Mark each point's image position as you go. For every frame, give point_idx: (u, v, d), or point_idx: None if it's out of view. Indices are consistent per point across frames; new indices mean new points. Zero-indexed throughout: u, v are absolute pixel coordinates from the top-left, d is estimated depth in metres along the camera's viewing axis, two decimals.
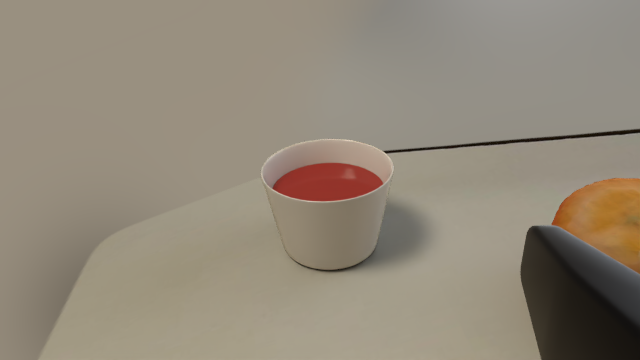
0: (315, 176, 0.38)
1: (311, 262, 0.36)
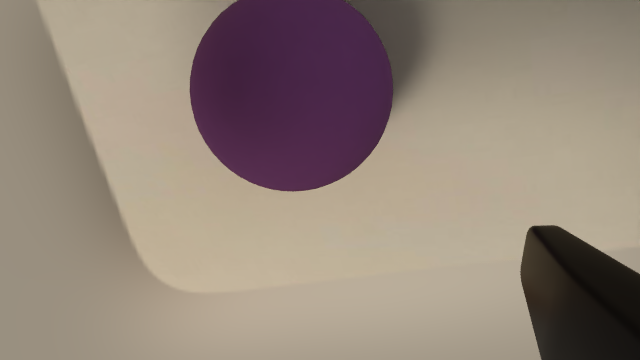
0: None
1: None
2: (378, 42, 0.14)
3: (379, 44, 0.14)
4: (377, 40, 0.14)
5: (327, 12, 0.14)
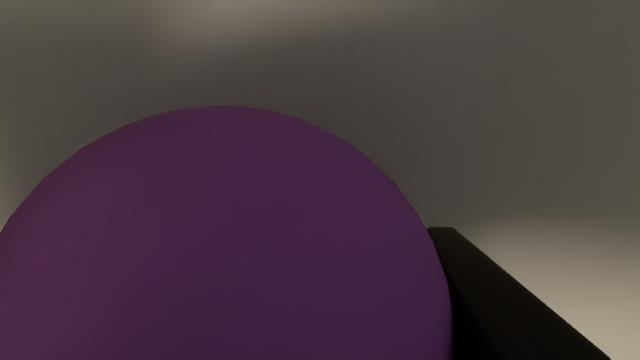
0: None
1: None
2: (427, 261, 0.06)
3: (429, 266, 0.06)
4: (425, 256, 0.06)
5: (296, 222, 0.05)
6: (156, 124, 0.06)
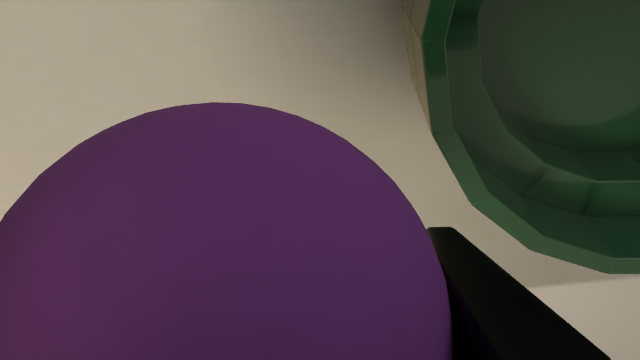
0: None
1: None
2: (425, 258, 0.06)
3: (427, 262, 0.06)
4: (422, 253, 0.06)
5: (292, 218, 0.05)
6: (152, 120, 0.06)
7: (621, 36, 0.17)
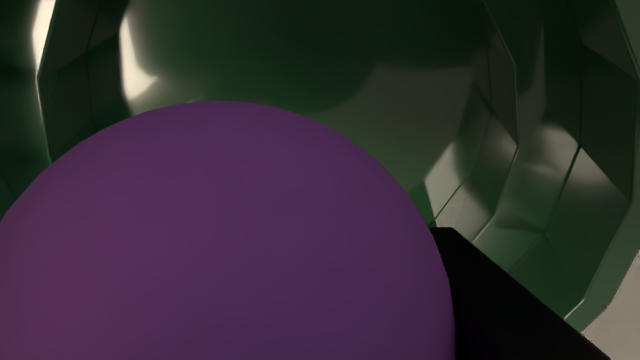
0: None
1: None
2: (428, 256, 0.06)
3: (430, 261, 0.06)
4: (425, 251, 0.06)
5: (295, 216, 0.05)
6: (154, 118, 0.06)
7: None
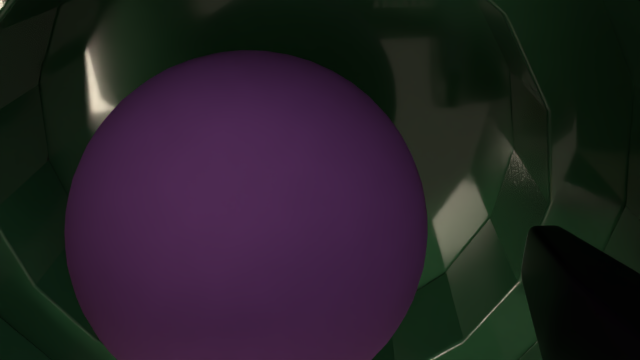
0: None
1: None
2: (405, 158, 0.08)
3: (406, 161, 0.08)
4: (403, 154, 0.08)
5: (310, 116, 0.07)
6: (206, 58, 0.08)
7: None
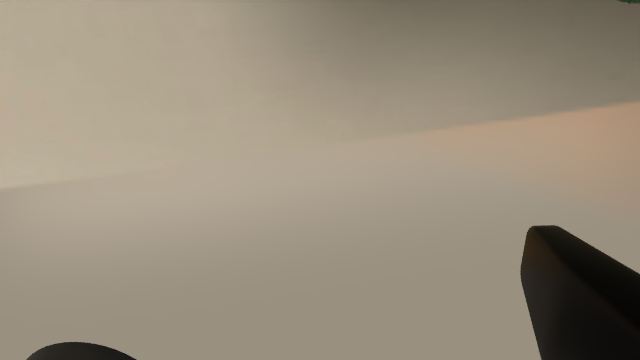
0: None
1: None
2: None
3: None
4: None
5: None
6: None
7: None
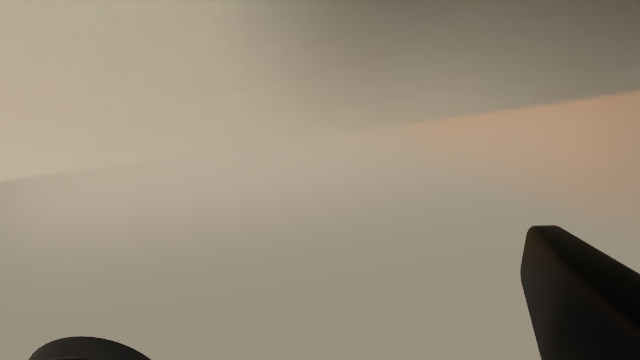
0: None
1: None
2: None
3: None
4: None
5: None
6: None
7: None
